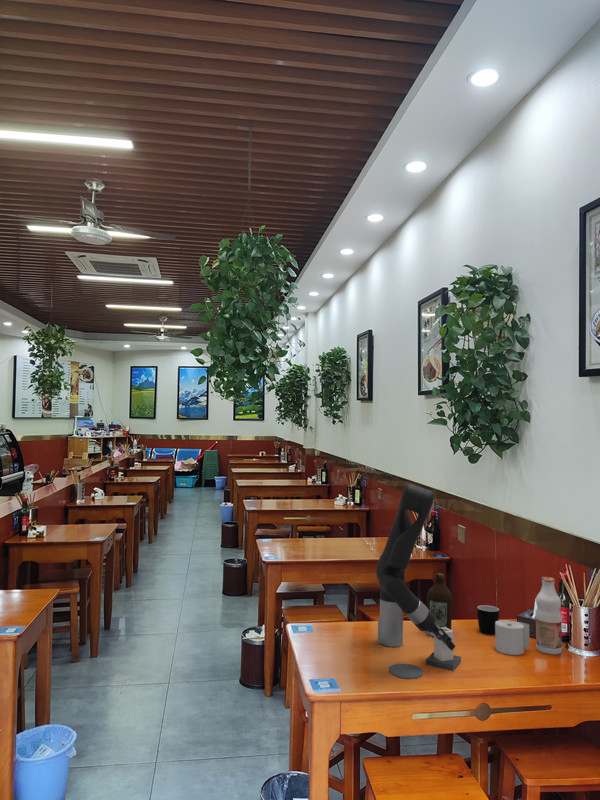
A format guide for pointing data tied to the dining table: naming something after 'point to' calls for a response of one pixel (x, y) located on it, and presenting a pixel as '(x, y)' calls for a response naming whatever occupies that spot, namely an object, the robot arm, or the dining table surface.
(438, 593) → the olive oil
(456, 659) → the post stand
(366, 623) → the dining table surface
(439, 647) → the sleeve
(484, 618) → the mug
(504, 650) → the toilet tissue
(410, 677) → the mat
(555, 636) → the fruit juice
